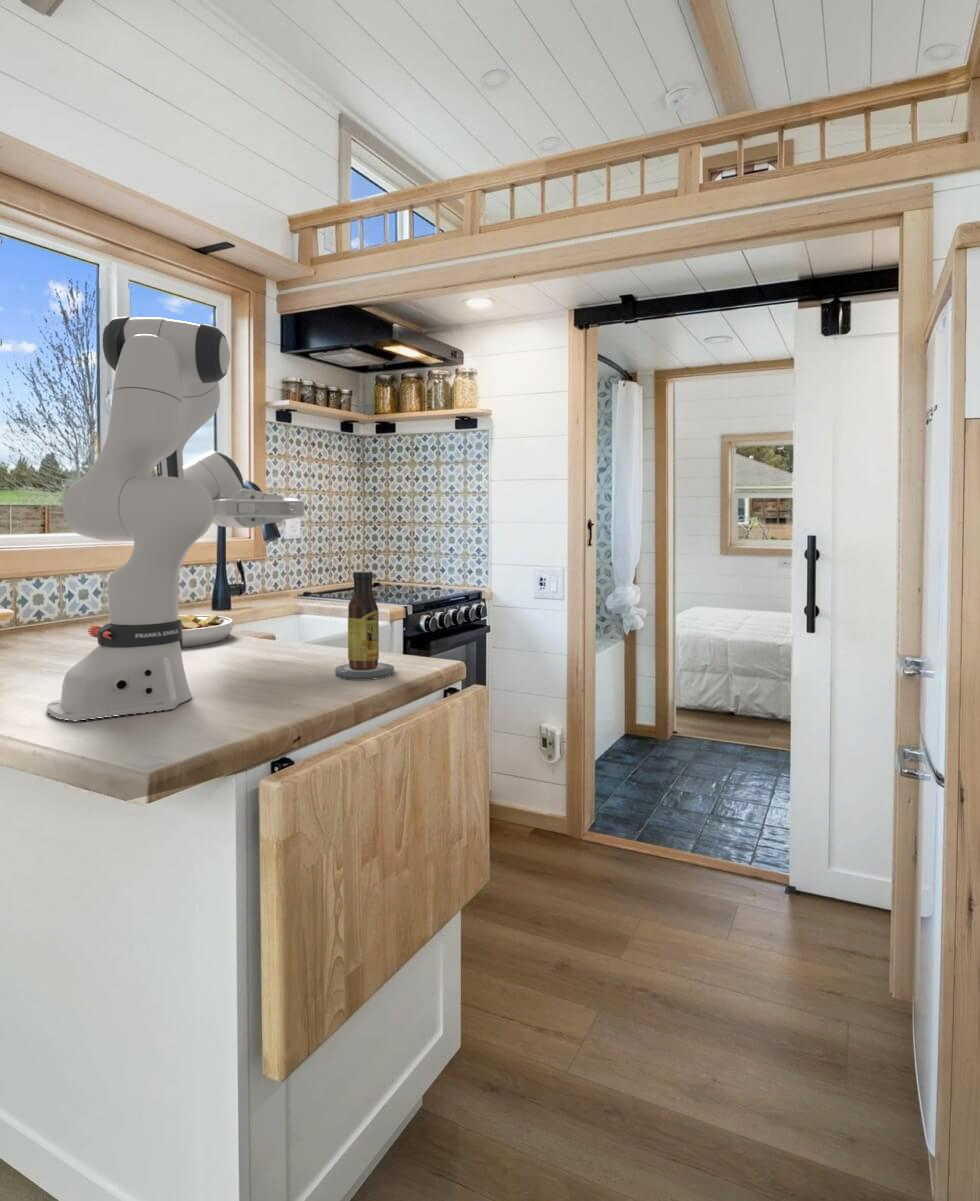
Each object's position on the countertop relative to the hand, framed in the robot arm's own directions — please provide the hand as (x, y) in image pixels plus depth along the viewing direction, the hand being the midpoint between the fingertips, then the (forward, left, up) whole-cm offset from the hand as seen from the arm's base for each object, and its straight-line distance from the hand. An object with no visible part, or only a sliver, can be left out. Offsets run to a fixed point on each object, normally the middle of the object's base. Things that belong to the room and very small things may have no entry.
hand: (276, 508), depth 165 cm
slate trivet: (+7, -22, -34) cm, 41 cm away
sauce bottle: (+7, -22, -33) cm, 40 cm away
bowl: (-5, +47, -35) cm, 59 cm away
